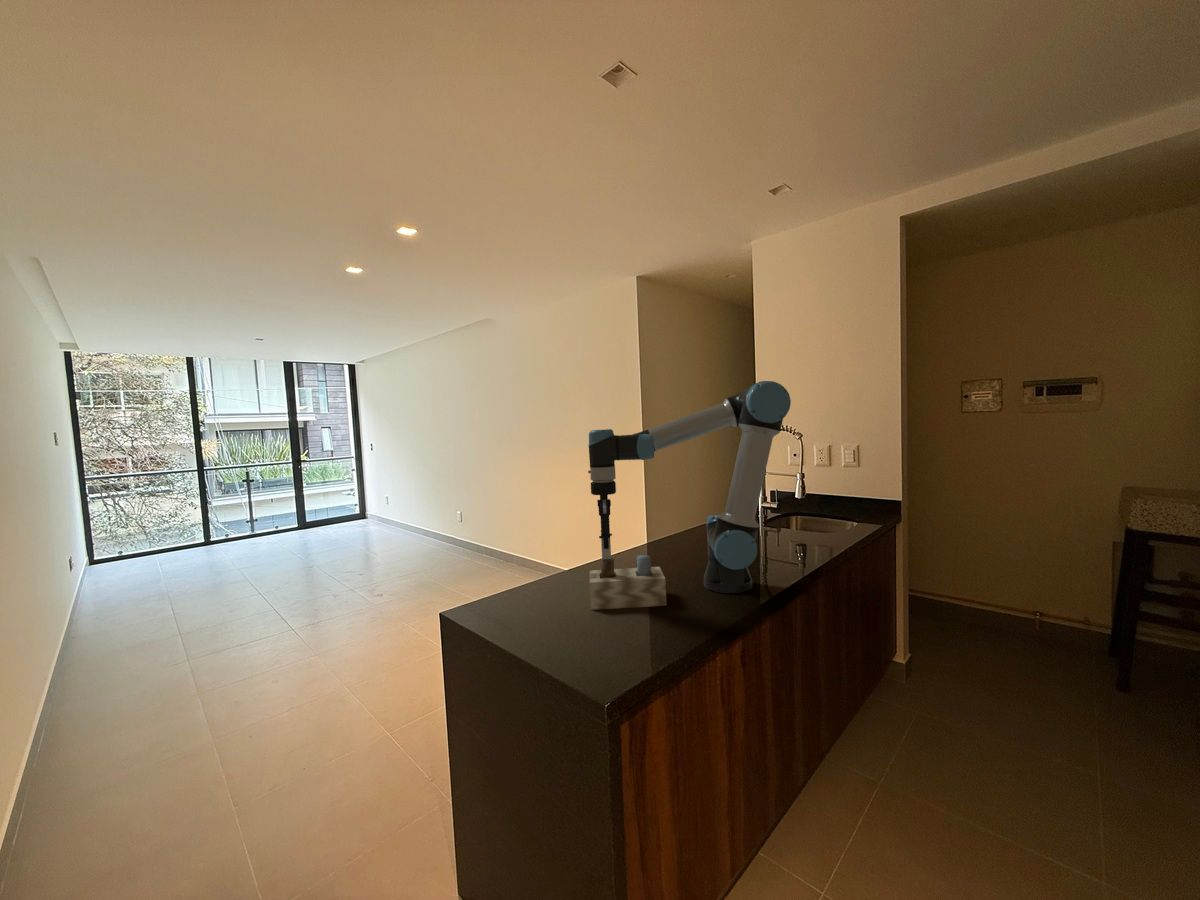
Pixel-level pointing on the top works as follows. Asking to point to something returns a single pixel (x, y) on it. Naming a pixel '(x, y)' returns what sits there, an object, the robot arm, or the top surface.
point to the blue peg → (643, 565)
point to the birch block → (627, 589)
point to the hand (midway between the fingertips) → (606, 558)
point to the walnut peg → (607, 568)
